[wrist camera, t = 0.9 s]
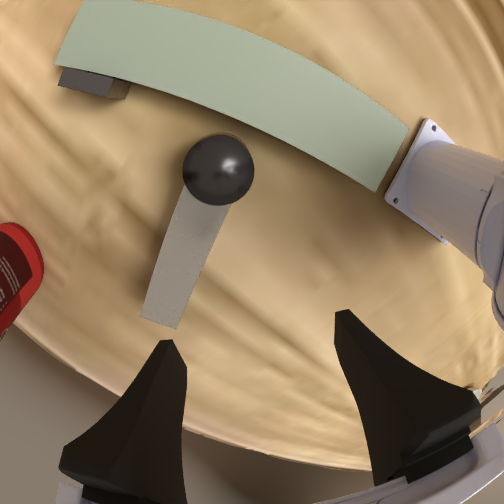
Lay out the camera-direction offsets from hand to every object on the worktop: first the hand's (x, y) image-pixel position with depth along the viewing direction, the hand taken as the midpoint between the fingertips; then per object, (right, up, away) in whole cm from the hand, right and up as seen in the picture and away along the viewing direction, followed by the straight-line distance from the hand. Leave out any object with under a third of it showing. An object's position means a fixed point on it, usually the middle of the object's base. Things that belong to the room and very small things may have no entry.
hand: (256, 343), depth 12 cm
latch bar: (-5, +6, +8) cm, 11 cm away
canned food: (-23, +4, +8) cm, 25 cm away
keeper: (-10, +15, +3) cm, 19 cm away
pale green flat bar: (-2, +15, +3) cm, 16 cm away
